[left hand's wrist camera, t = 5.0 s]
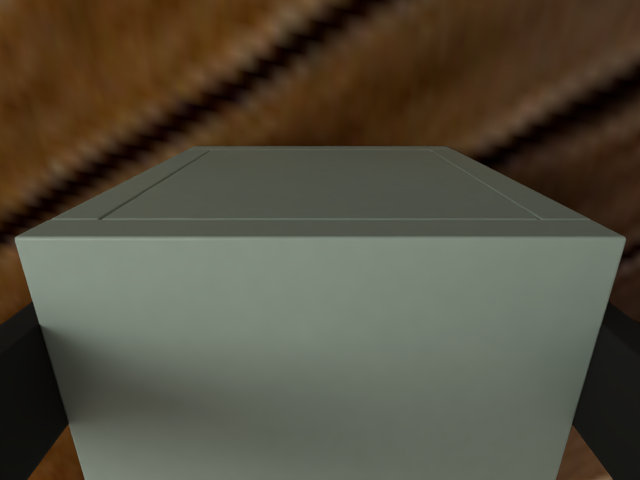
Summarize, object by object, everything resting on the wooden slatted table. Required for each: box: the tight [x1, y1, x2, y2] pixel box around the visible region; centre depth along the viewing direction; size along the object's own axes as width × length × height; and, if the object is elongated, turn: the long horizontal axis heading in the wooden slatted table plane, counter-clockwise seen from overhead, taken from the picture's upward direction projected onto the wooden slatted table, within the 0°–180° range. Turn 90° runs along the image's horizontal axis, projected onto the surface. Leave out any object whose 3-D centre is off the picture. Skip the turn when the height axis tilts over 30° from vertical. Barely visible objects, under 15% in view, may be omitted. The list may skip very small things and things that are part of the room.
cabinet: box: [15, 146, 626, 480], centre depth 17 cm, size 20×12×12 cm, turn 0°
